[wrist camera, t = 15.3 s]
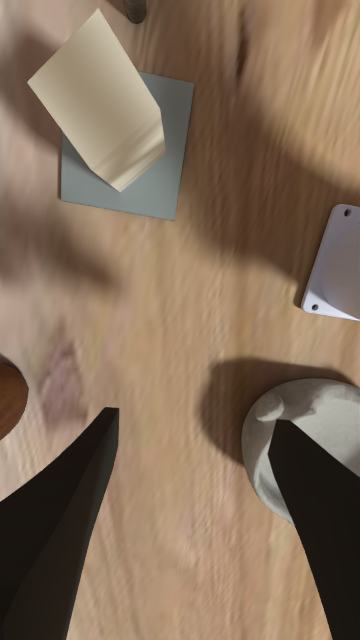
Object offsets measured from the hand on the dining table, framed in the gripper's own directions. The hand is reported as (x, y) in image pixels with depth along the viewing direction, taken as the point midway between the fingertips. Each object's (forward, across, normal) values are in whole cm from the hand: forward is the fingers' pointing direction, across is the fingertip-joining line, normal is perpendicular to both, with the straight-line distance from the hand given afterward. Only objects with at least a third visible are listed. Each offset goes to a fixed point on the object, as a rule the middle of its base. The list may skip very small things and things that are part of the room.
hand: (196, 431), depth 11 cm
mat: (+10, +6, -14) cm, 18 cm away
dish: (+11, -13, +8) cm, 19 cm away
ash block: (+10, +6, -14) cm, 18 cm away
